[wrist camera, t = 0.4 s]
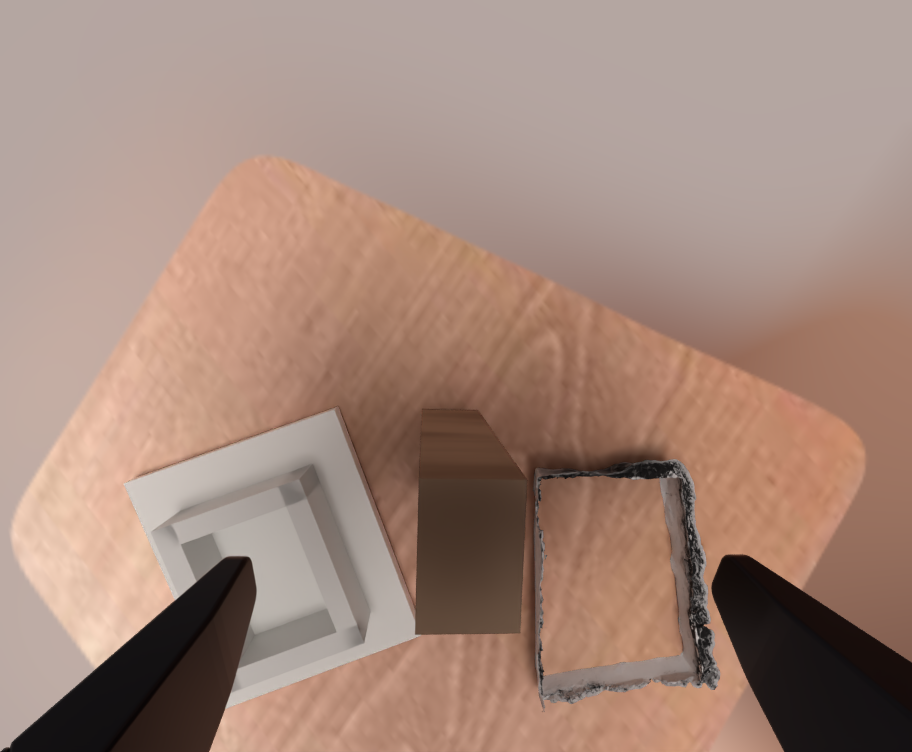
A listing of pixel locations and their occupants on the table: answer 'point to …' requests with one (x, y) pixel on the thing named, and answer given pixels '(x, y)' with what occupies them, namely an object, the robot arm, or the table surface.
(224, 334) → the table surface
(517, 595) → the walnut block
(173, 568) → the white recessed tray
